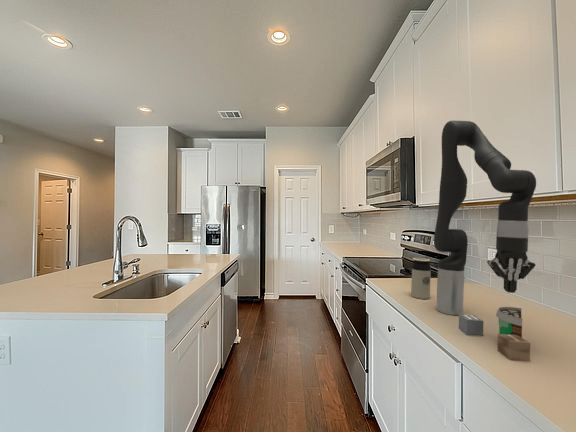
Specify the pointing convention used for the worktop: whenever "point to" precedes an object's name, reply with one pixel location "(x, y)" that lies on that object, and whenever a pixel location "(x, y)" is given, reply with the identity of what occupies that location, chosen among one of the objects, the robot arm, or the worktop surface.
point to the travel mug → (421, 278)
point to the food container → (510, 321)
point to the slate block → (471, 325)
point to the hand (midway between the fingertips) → (509, 291)
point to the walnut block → (513, 347)
